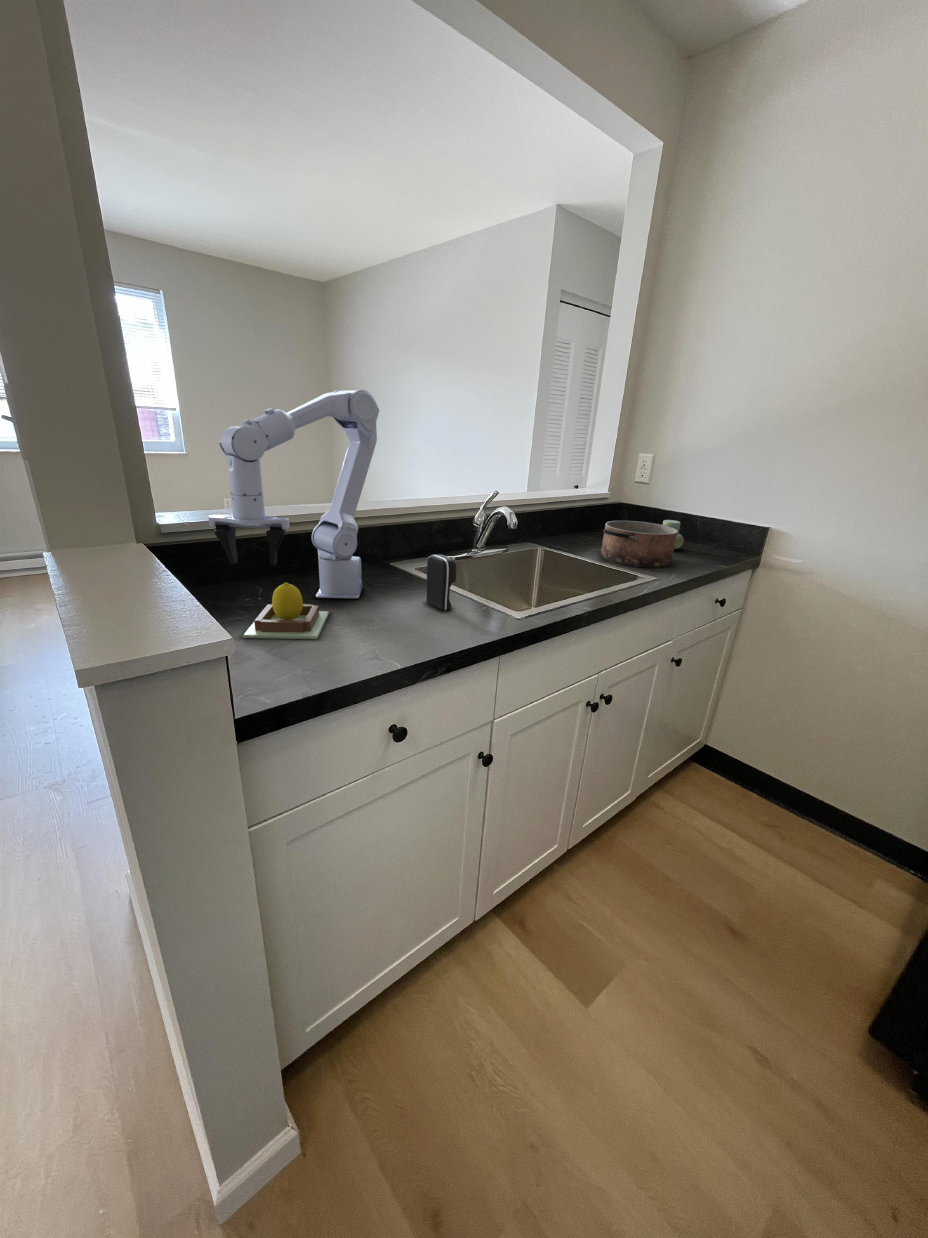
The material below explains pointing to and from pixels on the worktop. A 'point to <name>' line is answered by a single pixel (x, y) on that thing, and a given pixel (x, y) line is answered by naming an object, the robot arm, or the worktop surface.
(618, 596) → the worktop surface
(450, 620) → the worktop surface
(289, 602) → the lemon
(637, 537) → the cooking pot
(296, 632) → the cradle pad
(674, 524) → the air freshener
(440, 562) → the battery charger
